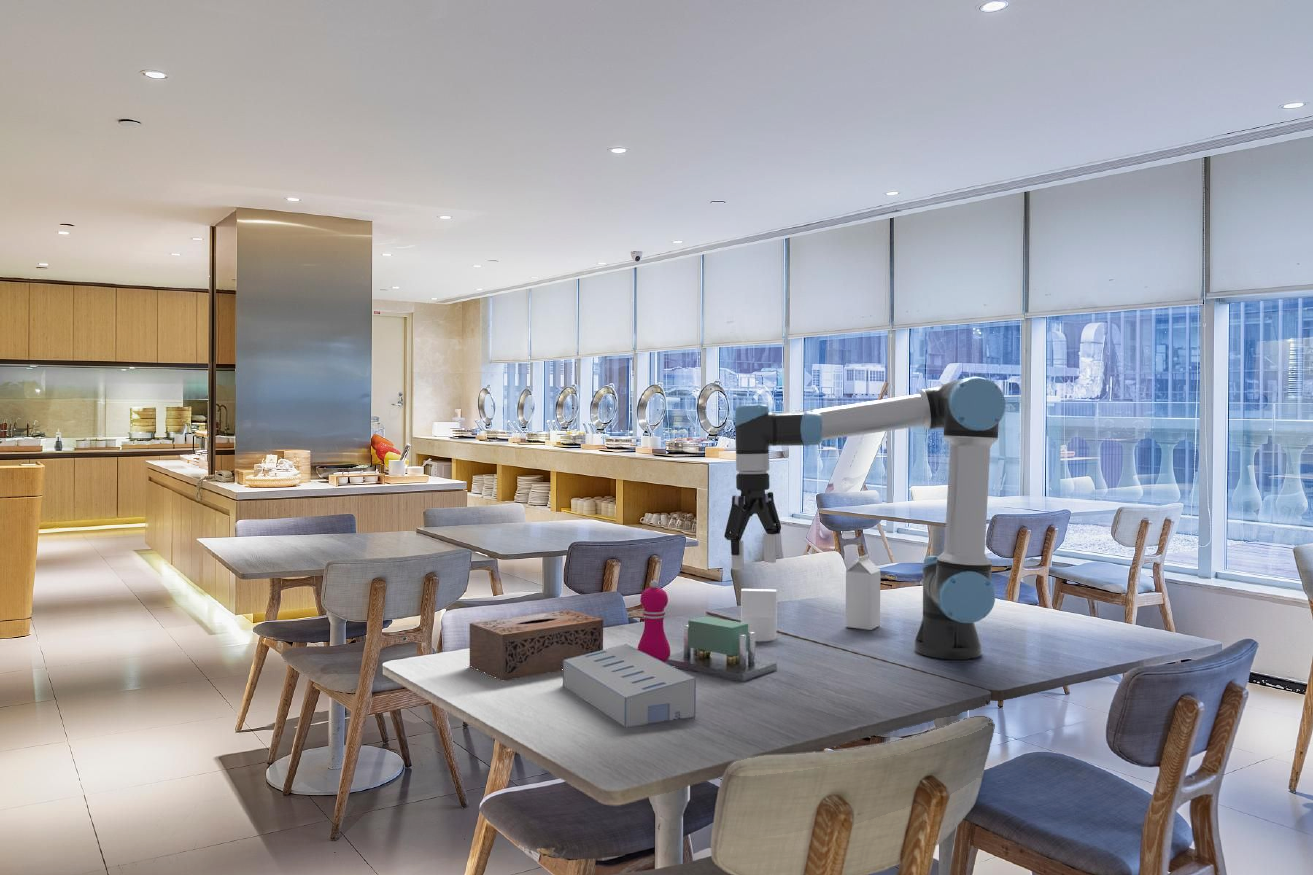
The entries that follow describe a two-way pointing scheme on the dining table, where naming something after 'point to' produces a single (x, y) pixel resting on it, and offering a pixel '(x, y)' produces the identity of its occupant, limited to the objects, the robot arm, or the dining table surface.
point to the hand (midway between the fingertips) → (754, 566)
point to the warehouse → (631, 685)
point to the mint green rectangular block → (716, 635)
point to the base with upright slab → (760, 612)
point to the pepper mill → (654, 623)
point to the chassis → (723, 660)
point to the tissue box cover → (532, 643)
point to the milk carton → (863, 594)
